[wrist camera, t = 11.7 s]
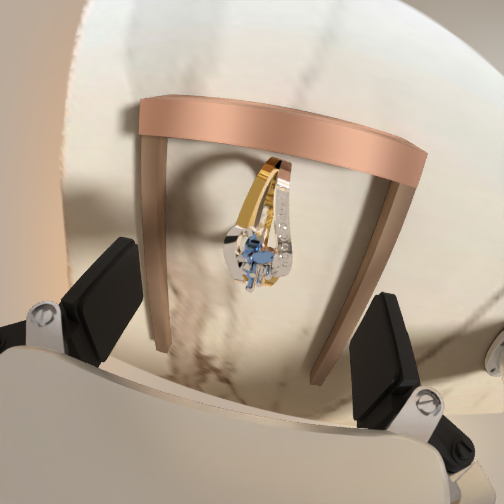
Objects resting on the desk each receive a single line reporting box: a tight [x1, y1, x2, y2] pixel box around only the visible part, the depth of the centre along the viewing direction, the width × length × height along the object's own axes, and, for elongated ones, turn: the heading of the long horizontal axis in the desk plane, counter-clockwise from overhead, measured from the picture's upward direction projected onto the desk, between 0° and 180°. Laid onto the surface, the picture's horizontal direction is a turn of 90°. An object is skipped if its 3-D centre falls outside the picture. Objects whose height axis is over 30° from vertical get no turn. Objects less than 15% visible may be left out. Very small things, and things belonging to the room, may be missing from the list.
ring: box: [223, 157, 292, 292], centre depth 16 cm, size 7×3×8 cm, turn 165°
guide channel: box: [139, 95, 428, 386], centre depth 21 cm, size 17×24×4 cm
